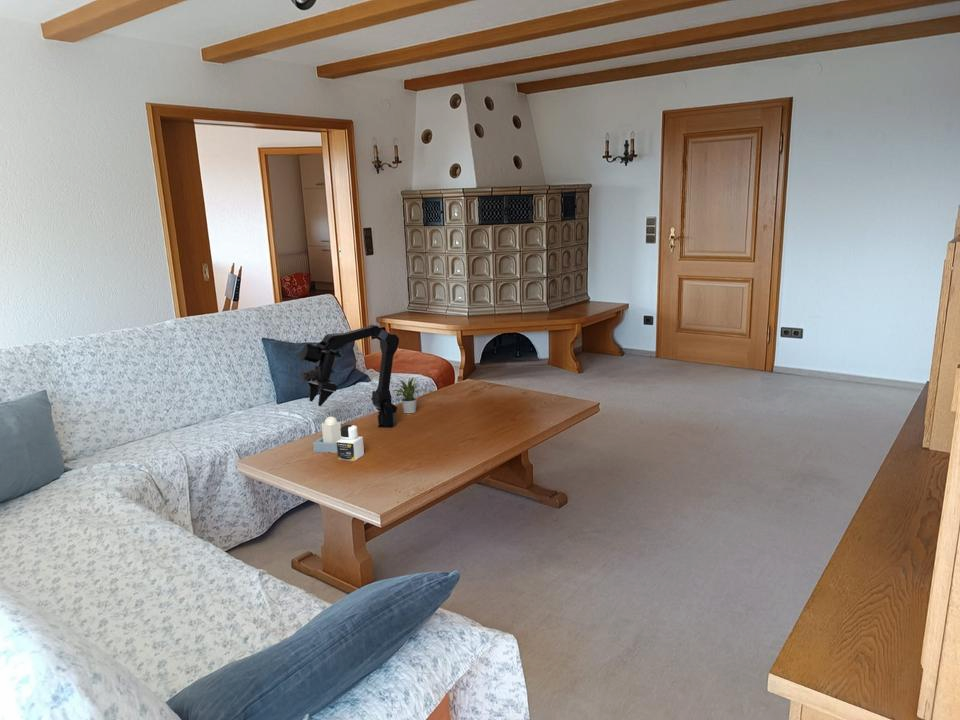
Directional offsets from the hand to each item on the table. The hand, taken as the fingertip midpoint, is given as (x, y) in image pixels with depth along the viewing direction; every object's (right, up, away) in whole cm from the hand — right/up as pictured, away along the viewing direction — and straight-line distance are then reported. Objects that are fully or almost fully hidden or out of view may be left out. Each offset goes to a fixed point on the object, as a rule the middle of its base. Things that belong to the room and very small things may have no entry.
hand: (315, 403), depth 260 cm
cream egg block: (+8, -17, -5) cm, 19 cm away
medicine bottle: (+17, -19, -16) cm, 30 cm away
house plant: (+33, -6, +39) cm, 52 cm away
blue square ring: (+8, -17, -5) cm, 19 cm away
